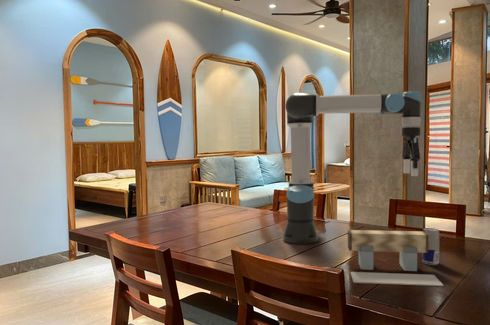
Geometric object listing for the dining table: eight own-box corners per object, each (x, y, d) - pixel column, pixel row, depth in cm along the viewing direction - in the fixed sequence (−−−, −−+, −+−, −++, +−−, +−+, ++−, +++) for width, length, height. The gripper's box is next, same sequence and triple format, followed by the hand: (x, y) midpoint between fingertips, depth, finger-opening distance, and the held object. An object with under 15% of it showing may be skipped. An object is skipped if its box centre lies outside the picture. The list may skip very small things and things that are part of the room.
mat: (353, 282, 125) (353, 281, 125) (350, 273, 133) (350, 271, 133) (443, 286, 121) (443, 284, 121) (433, 276, 130) (433, 274, 129)
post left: (361, 269, 137) (361, 246, 137) (358, 262, 144) (358, 240, 144) (373, 269, 136) (373, 246, 136) (370, 263, 144) (370, 240, 143)
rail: (349, 250, 138) (349, 233, 138) (347, 246, 143) (347, 230, 143) (428, 252, 135) (428, 235, 134) (423, 248, 140) (424, 231, 139)
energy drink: (419, 261, 145) (419, 228, 145) (433, 260, 146) (434, 227, 145) (427, 265, 140) (427, 231, 139) (442, 265, 140) (442, 230, 140)
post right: (404, 270, 135) (404, 247, 134) (399, 263, 142) (399, 241, 142) (417, 271, 134) (417, 247, 134) (411, 264, 142) (411, 241, 141)
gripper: (428, 126, 167) (427, 177, 168) (412, 127, 191) (411, 172, 192) (409, 126, 168) (408, 177, 169) (395, 127, 192) (395, 172, 194)
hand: (410, 174), depth 181 cm, fingers open, 13 cm apart
